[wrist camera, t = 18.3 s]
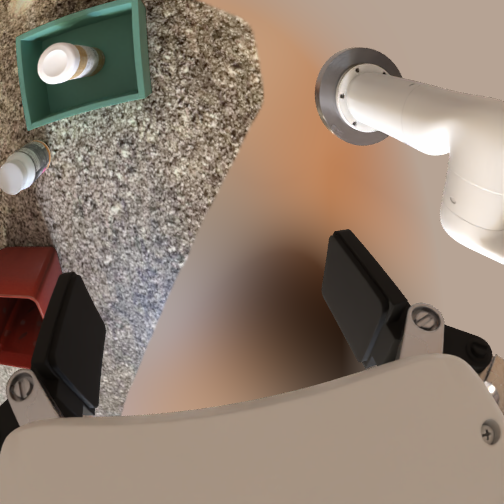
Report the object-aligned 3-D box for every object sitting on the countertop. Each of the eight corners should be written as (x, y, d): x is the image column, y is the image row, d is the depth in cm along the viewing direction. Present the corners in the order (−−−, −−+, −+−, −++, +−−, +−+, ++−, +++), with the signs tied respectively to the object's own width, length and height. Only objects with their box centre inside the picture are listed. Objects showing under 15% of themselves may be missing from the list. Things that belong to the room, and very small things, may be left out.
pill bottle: (34, 178, 38) (7, 205, 30) (18, 150, 34) (-12, 173, 26) (58, 161, 38) (33, 186, 30) (42, 132, 34) (13, 151, 26)
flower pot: (15, 304, 50) (-7, 364, 37) (-12, 232, 40) (-52, 290, 26) (86, 308, 55) (72, 374, 42) (66, 230, 45) (35, 296, 31)
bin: (145, 7, 28) (137, -5, 22) (151, 92, 36) (145, 98, 30) (39, 39, 25) (15, 37, 19) (49, 119, 34) (27, 131, 27)
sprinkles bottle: (72, 57, 29) (30, 58, 18) (99, 41, 29) (66, 33, 18) (82, 82, 32) (44, 92, 21) (110, 67, 32) (80, 69, 21)
